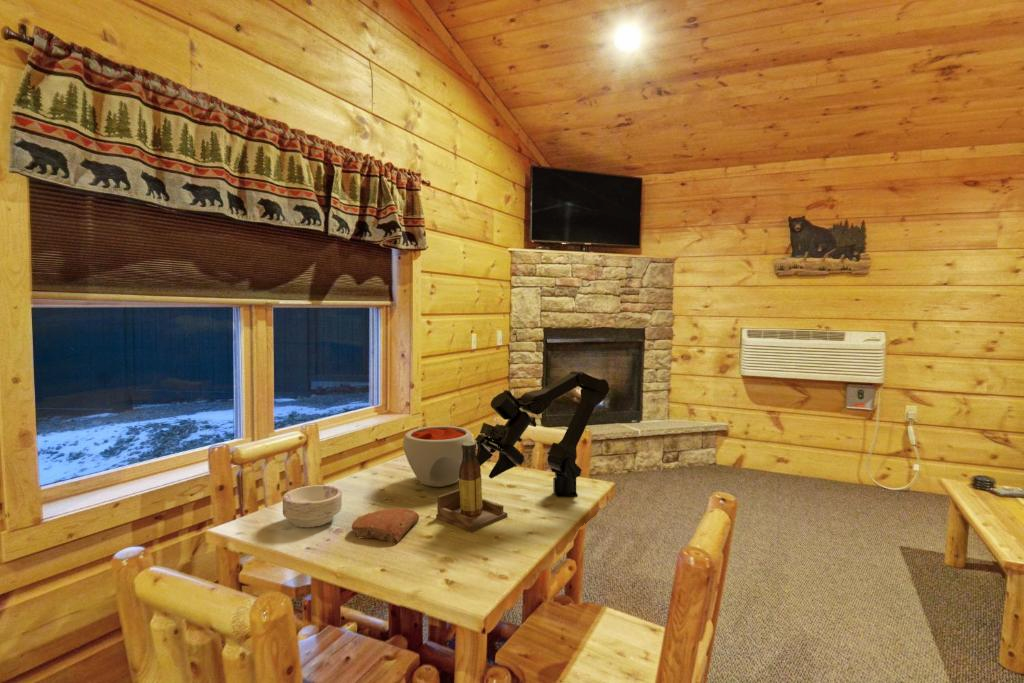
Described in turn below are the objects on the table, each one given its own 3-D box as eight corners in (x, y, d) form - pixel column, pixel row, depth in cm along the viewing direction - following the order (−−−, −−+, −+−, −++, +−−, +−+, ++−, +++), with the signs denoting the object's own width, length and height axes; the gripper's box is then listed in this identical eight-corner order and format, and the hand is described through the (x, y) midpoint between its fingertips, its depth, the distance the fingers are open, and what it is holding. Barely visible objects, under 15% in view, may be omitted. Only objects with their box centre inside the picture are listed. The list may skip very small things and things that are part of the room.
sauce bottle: (477, 507, 155) (476, 439, 154) (486, 514, 149) (485, 444, 148) (455, 511, 152) (455, 441, 151) (464, 519, 146) (463, 446, 145)
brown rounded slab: (372, 498, 151) (422, 510, 148) (367, 521, 150) (417, 534, 147) (345, 511, 136) (400, 525, 133) (341, 537, 136) (396, 551, 133)
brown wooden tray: (507, 516, 151) (507, 495, 150) (471, 532, 140) (471, 509, 140) (472, 504, 160) (472, 484, 160) (436, 518, 150) (435, 496, 149)
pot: (488, 477, 185) (488, 426, 183) (449, 500, 163) (448, 442, 162) (430, 468, 195) (430, 419, 194) (386, 488, 174) (386, 433, 173)
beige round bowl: (353, 514, 152) (352, 486, 152) (318, 536, 138) (318, 506, 137) (308, 508, 157) (307, 481, 157) (270, 528, 143) (269, 499, 142)
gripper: (480, 407, 161) (447, 449, 156) (515, 418, 146) (480, 465, 140) (502, 429, 166) (472, 470, 161) (538, 442, 150) (505, 488, 145)
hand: (481, 473), depth 152 cm, fingers open, 9 cm apart
